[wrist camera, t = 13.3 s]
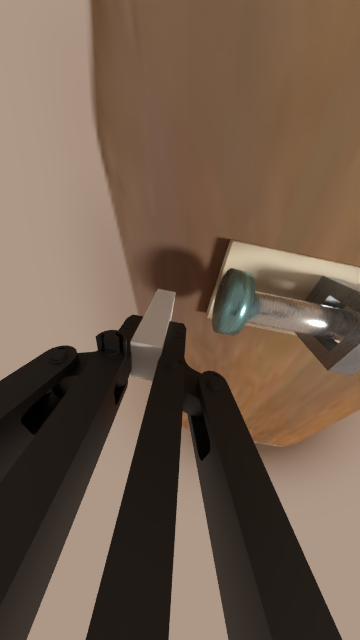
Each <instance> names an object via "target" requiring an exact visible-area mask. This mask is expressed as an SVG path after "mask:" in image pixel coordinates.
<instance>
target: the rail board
mask: <svg viewBox="0 0 360 640" xmlns="http://www.w3.org/2000/svg"><path fill="white" fill-rule="evenodd" d="M230 268H234V269H238V270H243V271H248V272H251V273H252V274H253V276H254V280H255V291H257V292H262V293H267V294H272V295H277V296H282V297H287V298H292V299H297V300H302V301H305V299H306V298H307V297H308V295H309V294H310V292H311V291H312V290H313V288H314V287H315V286H316V284H317V283H318V281H319V280H320V279H321V277H322V276H327V277H332V278H337V279H341V280H345V281H347V282H350V283H352V284H355V285H357V286H359V287H360V267H358V266H353V265H348V264H344V263H339V262H334V261H330V260H325V259H320V258H316V257H311V256H306V255H301V254H297V253H292V252H287V251H283V250H278V249H273V248H268V247H264V246H259V245H254V244H250V243H245V242H240V241H235V240H231V239H230V242H229V245H228V248H227V251H226V254H225V257H224V261H223V264H222V267H221V270H220V273H219V276H218V279H217V282H216V285H215V288H214V291H213V294H212V297H211V300H210V303H209V306H208V309H207V318H211V319H212V313H213V306H214V301H215V297H216V293H217V290H218V287H219V285H220V282H221V280H222V278H223V276H224V274H225V273H226V272H227V270H229V269H230ZM344 309H346V310H351V311H353V309H352V308H350V307H348V306H346V307H345V308H344ZM245 325H246V326H251V327H257V328H262V329H267V330H272V331H277V332H282V333H287V334H292V335H296V334H295V332H293V331H288V330H283V329H278V328H273V327H268V326H262V325H257V324H252V323H247V322H246V324H245ZM335 341H336V342H337V343H339V342H340V341H339V340H335Z"/></svg>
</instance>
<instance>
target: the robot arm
mask: <svg viewBox="0 0 360 640" xmlns="http://www.w3.org/2000/svg"><path fill="white" fill-rule="evenodd" d="M175 295H176V292H172V291H167V290H162V289H158V290H157V292H156V294H155V296H154V298H153V300H152V302H151V303H150V305H149V307H148V309H147V311H146V313H145V315H144V317H143V316H137V315H131V316H130V317H128V318H127V319H126V320H125V322H124V324H123V325H122V326H121V328H120V329H119V330H108V331H104V332H102V333H100V334H98V335H97V336H96V341H97V346H98V351H96V352H87V353H77V351H76V349H75V348H73V347H71V346H58V347H55V348H52V349H50V350H48V351H46V352H44V353H43V354H41V355H40V356H38V357H37V358H36V359H34V360H32V361H31V362H29V363H27V364H26V365H24V366H23V367H21V368H19V369H18V370H17V371H15V372H13V373H12V374H10V375H9V376H7V377H6V378H4V379H2V380H1V381H0V640H26V639H27V637H28V634H29V632H30V629H31V627H32V624H33V622H34V619H35V617H36V614H37V612H38V609H39V607H40V604H41V601H42V599H43V596H44V594H45V591H46V589H47V587H48V584H49V581H50V579H51V576H52V574H53V571H54V569H55V566H56V564H57V561H58V559H59V556H60V554H61V551H62V549H63V546H64V544H65V541H66V539H67V536H68V534H69V531H70V529H71V526H72V524H73V521H74V519H75V516H76V514H77V511H78V509H79V506H80V504H81V501H82V499H83V496H84V494H85V491H86V488H87V486H88V484H89V481H90V479H91V476H92V474H93V471H94V469H95V466H96V464H97V461H98V459H99V456H100V454H101V451H102V449H103V446H104V443H105V441H106V438H107V436H108V433H109V431H110V428H111V426H112V423H113V421H114V418H115V416H116V413H117V411H118V408H119V406H120V403H121V401H122V398H123V396H124V393H125V391H126V388H127V385H128V377H129V375H130V373H131V377H134V378H140V379H146V380H151V381H153V382H152V386H151V390H150V394H149V398H148V401H147V405H146V409H145V413H144V417H143V421H142V425H141V429H140V433H139V436H138V440H137V444H136V448H135V452H134V456H133V459H132V463H131V467H130V471H129V475H128V479H127V483H126V486H125V490H124V494H123V498H122V502H121V506H120V510H119V514H118V517H117V521H116V525H115V529H114V533H113V537H112V541H111V544H110V548H109V552H108V556H107V560H106V564H105V568H104V572H103V575H102V579H101V583H100V587H99V591H98V594H97V598H96V603H95V606H94V610H93V614H92V618H91V621H90V626H89V629H88V633H87V637H86V640H168V637H169V620H170V605H171V589H172V573H173V557H174V540H175V524H176V508H177V492H178V476H179V459H180V443H181V427H182V411H184V412H186V413H187V414H188V420H189V425H190V431H191V436H192V441H193V446H194V453H195V458H196V464H197V468H198V475H199V480H200V485H201V491H202V496H203V502H204V508H205V512H206V518H207V524H208V529H209V535H210V540H211V546H212V551H213V557H214V562H215V568H216V573H217V579H218V584H219V589H220V595H221V601H222V606H223V612H224V617H225V623H226V628H227V634H228V639H229V640H342V638H341V636H340V634H339V632H338V629H337V627H336V625H335V623H334V620H333V618H332V616H331V614H330V612H329V609H328V607H327V605H326V603H325V600H324V598H323V596H322V594H321V592H320V589H319V587H318V585H317V583H316V580H315V578H314V576H313V574H312V571H311V569H310V567H309V565H308V563H307V560H306V558H305V556H304V553H303V551H302V549H301V547H300V545H299V543H298V540H297V538H296V536H295V534H294V531H293V529H292V527H291V525H290V522H289V520H288V518H287V515H286V513H285V511H284V509H283V507H282V504H281V502H280V500H279V498H278V495H277V493H276V491H275V489H274V487H273V485H272V482H271V480H270V477H269V475H268V473H267V471H266V469H265V466H264V464H263V462H262V460H261V457H260V455H259V454H258V451H257V449H256V446H255V444H254V442H253V439H252V437H251V435H250V433H249V431H248V428H247V426H246V424H245V422H244V419H243V417H242V415H241V413H240V410H239V408H238V406H237V404H236V401H235V399H234V397H233V395H232V393H231V390H230V388H229V386H228V384H227V382H226V380H225V379H224V378H223V377H222V376H221V375H220V374H218V373H216V372H214V371H206V372H204V373H202V374H201V373H199V372H197V371H195V370H193V369H192V368H190V367H189V366H188V365H187V363H186V361H185V358H184V354H185V339H186V327H185V325H184V324H182V323H177V322H172V321H171V318H172V312H173V306H174V301H175Z"/></svg>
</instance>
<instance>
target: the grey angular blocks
mask: <svg viewBox="0 0 360 640" xmlns="http://www.w3.org/2000/svg"><path fill="white" fill-rule="evenodd" d="M305 301H307V302H312V303H316V304H321V305H326V306H331V307H336V308H341V309H344V308H345V307H346V306H348V307H350V308H352V309H353V311H356V312H359V313H360V287H359V286H357V285H355V284H352V283H350V282H347V281H345V280H341V279H337V278H332V277H327V276H322V277H321V279H320V280H319V281H318V283H317V284H316V286H315V287H314V288H313V290H312V291H311V292H310V294H309V295H308V297H307V298H306V299H305ZM295 334H296V335H297V336H298V337H299V338H300V339H301V340H302V342H303V343H304V344H305V345H306V346H307V347H308V348H309V350H310V351H311V352H312V353H313V354H314V355H315V357H316V358H317V359H318V360H319V361H320V362H321V363H322V365H323V366H324V367H325V368H326V369H327V370H328V371H332V372H337V373H342V374H348V375H353V374H355V373H356V372H357V371H359V370H360V324H358V325H357V326H356V327H355V328H354V329H353V330H352V331H351V332H350V333H349V334H348V335H347V336H346V337H345V338H344V339H342V340H341V341H340V342H339V343H337V342H336V341H335V340H334V339H329V338H324V337H318V336H313V335H308V334H303V333H298V332H295Z"/></svg>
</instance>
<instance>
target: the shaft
mask: <svg viewBox="0 0 360 640" xmlns="http://www.w3.org/2000/svg"><path fill="white" fill-rule="evenodd" d="M246 322H247V323H252V324H257V325H262V326H268V327H273V328H278V329H283V330H288V331H293V332H298V333H303V334H308V335H313V336H318V337H324V338H329V339H334V340H339V341H341V340H342V339H344V338H345V337H346V336H347V335H348V334H349V333H350V332H351V331H352V330H353V329H354V328H355V327H356V326H357V325H358V324H360V313H359V312H356V311H351V310H346V309H341V308H336V307H331V306H326V305H321V304H316V303H312V302H307V301H302V300H297V299H292V298H287V297H282V296H277V295H272V294H267V293H262V292H257V291H255V280H254V276H253V274H252V273H251V272H248V271H243V270H238V269H234V268H230V269H229V270H227V272H226V273H225V274H224V276H223V278H222V280H221V282H220V285H219V287H218V290H217V293H216V297H215V301H214V306H213V313H212V326H213V330H214V332H216V333H221V334H226V335H231V336H234V335H236V334H238V333H239V332H240V331H241V330H242V329H243V327H244V326H245V324H246Z"/></svg>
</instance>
